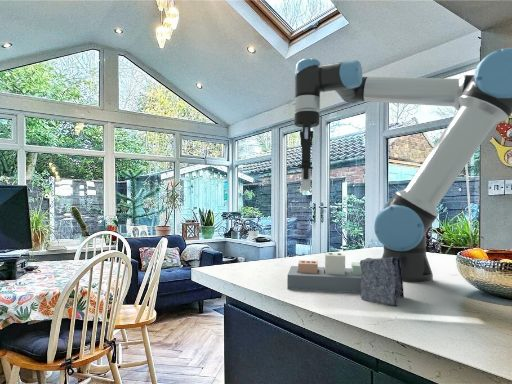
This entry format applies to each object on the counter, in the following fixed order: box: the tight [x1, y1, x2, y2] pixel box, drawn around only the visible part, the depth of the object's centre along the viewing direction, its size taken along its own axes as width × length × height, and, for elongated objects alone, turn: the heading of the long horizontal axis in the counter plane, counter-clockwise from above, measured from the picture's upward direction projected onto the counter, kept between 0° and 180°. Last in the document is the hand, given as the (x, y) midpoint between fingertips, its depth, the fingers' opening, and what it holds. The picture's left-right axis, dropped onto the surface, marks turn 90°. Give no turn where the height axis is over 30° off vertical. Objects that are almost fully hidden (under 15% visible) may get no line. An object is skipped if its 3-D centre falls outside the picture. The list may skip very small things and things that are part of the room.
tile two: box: [324, 252, 346, 275], centre depth 92 cm, size 5×5×5 cm
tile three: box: [297, 259, 319, 274], centre depth 93 cm, size 5×5×5 cm
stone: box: [359, 257, 405, 307], centre depth 80 cm, size 12×10×10 cm
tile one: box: [351, 261, 362, 275], centre depth 90 cm, size 5×5×5 cm
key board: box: [286, 265, 362, 294], centre depth 92 cm, size 24×12×4 cm, turn 80°
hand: (305, 190), depth 105 cm, fingers closed
